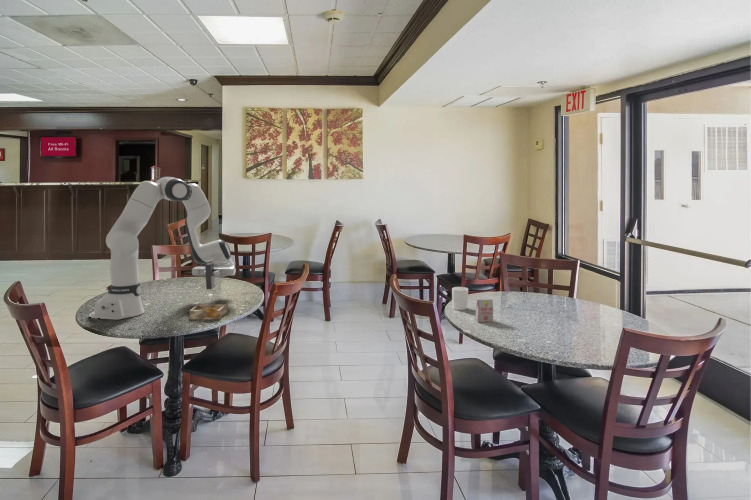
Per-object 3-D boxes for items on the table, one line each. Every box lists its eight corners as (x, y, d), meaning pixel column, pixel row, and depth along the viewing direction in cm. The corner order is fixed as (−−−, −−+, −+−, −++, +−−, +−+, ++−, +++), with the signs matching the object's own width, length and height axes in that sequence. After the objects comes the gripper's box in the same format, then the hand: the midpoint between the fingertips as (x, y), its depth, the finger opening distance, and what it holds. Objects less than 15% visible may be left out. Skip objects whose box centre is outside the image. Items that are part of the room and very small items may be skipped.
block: (206, 289, 221) (205, 264, 220) (209, 286, 226) (208, 262, 225) (211, 289, 222) (210, 264, 220) (214, 286, 226) (213, 262, 225)
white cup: (456, 311, 222) (457, 291, 221) (448, 307, 230) (449, 287, 228) (470, 309, 225) (471, 289, 224) (461, 305, 233) (462, 286, 231)
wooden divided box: (189, 319, 206) (188, 308, 206) (197, 311, 218) (197, 301, 217) (219, 319, 207) (219, 308, 206) (227, 311, 218) (226, 301, 218)
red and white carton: (475, 320, 209) (476, 298, 207) (490, 319, 209) (491, 298, 208) (477, 322, 205) (478, 300, 204) (492, 322, 206) (493, 300, 204)
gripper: (196, 262, 235) (187, 267, 221) (237, 262, 236) (230, 267, 222) (197, 274, 236) (187, 280, 222) (238, 274, 237) (230, 280, 223)
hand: (209, 274), depth 222 cm, fingers closed on block, 2 cm apart
